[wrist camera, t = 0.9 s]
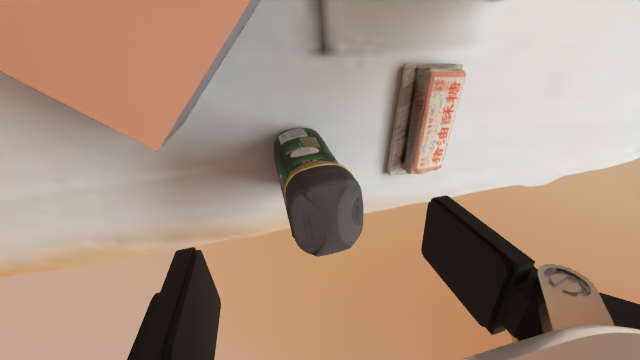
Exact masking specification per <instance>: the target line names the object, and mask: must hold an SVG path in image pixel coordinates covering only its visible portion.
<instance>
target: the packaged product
mask: <svg viewBox="0 0 640 360" xmlns="http://www.w3.org/2000/svg"><path fill="white" fill-rule="evenodd" d="M462 67H463V65H455V64H405V65H404V68H403V75H402V82H401V88H400V93H399V98H398V103H397V109H396V115H395V120H394V126H393V132H392V138H391V145H390V153H389V161H388V169H387V172H388V174H389V175H399V174H407V173H408V174H423V173H426V172H429V171H432V170H437V169H439V168H441V166H442V162H443V159H444V155H445V152H446V148H447V144H448V140H449V136H450V133H451V128H452V125H453V121H454V117H455V114H456V110H457V106H458V102H459V99H460V94H461V91H462V88H463V84H464V81H465V76H466V73H465V72H464V71H462Z"/></svg>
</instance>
